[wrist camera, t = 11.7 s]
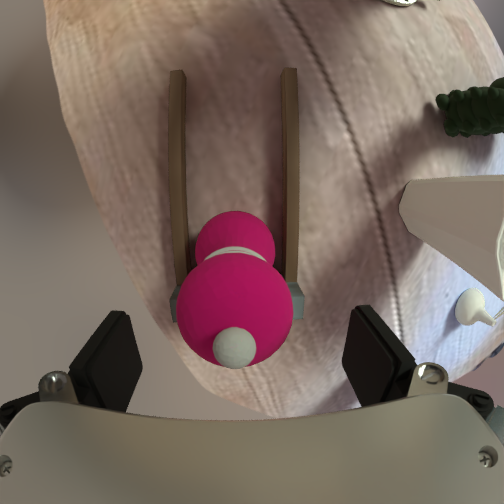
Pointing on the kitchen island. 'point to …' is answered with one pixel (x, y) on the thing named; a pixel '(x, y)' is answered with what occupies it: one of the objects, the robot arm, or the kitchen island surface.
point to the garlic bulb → (472, 308)
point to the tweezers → (499, 314)
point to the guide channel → (289, 185)
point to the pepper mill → (234, 294)
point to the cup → (461, 222)
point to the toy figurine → (474, 110)
